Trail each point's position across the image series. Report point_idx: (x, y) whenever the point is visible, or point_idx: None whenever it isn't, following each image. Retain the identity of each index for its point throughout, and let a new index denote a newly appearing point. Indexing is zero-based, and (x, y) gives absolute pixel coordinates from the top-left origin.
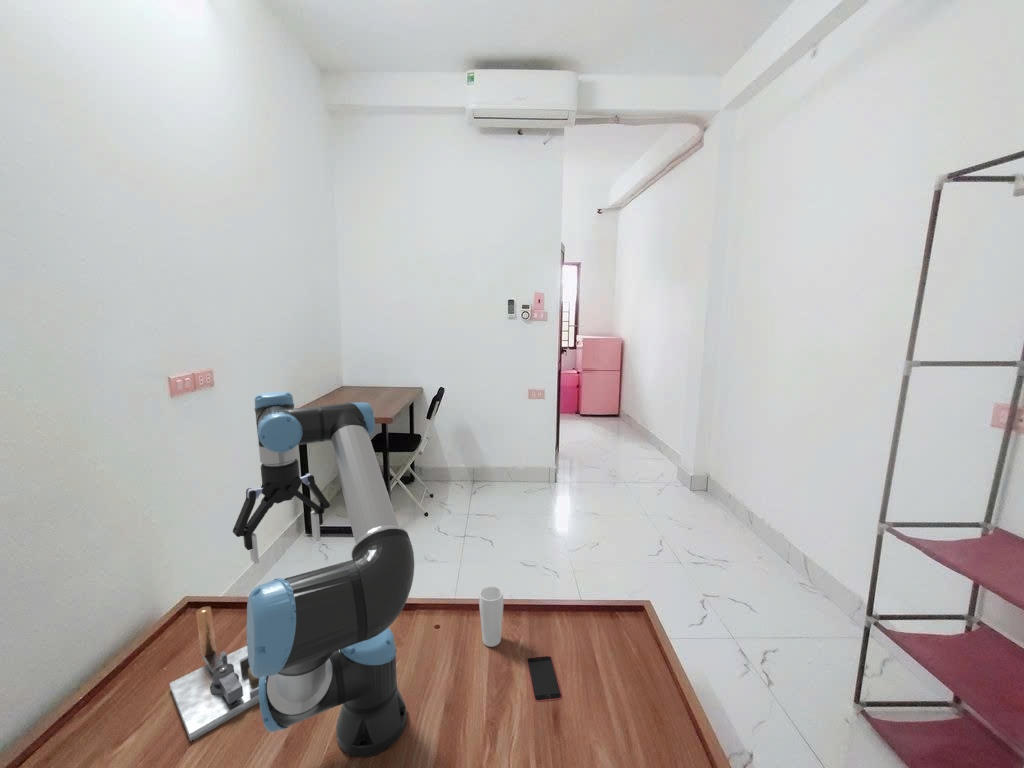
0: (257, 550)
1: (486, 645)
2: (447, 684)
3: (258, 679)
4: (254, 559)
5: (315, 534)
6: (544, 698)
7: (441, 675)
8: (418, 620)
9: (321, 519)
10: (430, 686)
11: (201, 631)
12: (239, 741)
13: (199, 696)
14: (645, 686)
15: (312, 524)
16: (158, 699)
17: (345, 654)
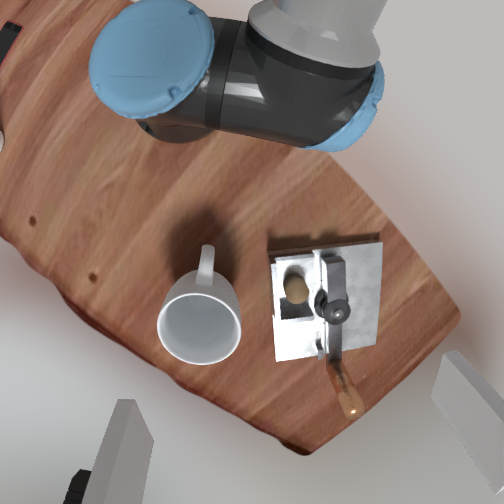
0: (479, 392)
1: (3, 136)
2: (70, 100)
3: (296, 276)
4: (467, 364)
5: (134, 437)
6: (16, 26)
7: (67, 120)
8: (49, 253)
9: (72, 496)
10: (88, 109)
11: (353, 386)
12: (335, 196)
13: (359, 299)
14: None
15: (136, 497)
16: (383, 331)
17: (210, 22)
